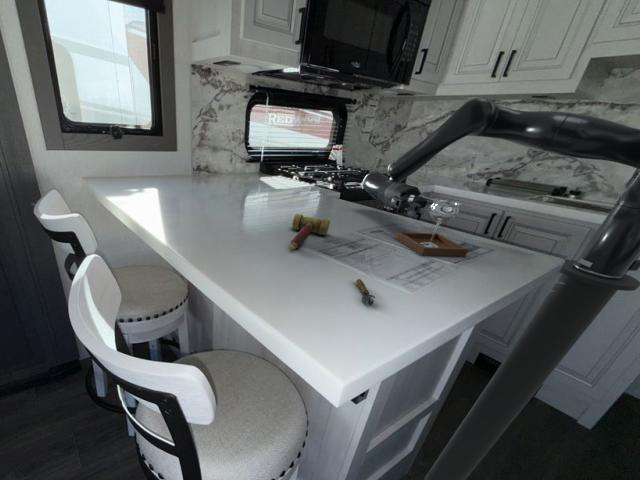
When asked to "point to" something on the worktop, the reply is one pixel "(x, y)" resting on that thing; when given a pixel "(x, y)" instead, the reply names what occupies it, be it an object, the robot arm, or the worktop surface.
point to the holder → (445, 244)
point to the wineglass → (441, 215)
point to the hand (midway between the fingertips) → (433, 210)
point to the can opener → (365, 292)
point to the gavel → (307, 228)
